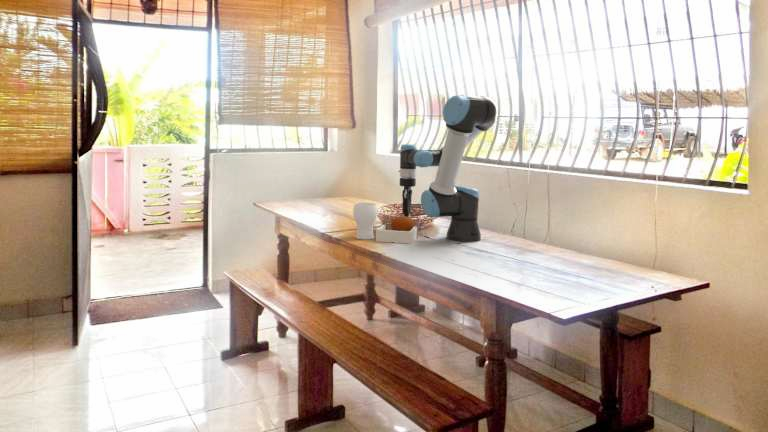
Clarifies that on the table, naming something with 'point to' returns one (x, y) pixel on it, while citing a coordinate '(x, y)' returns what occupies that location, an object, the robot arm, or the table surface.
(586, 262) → the table surface
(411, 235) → the frame
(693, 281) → the table surface
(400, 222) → the fruit
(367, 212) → the cup
